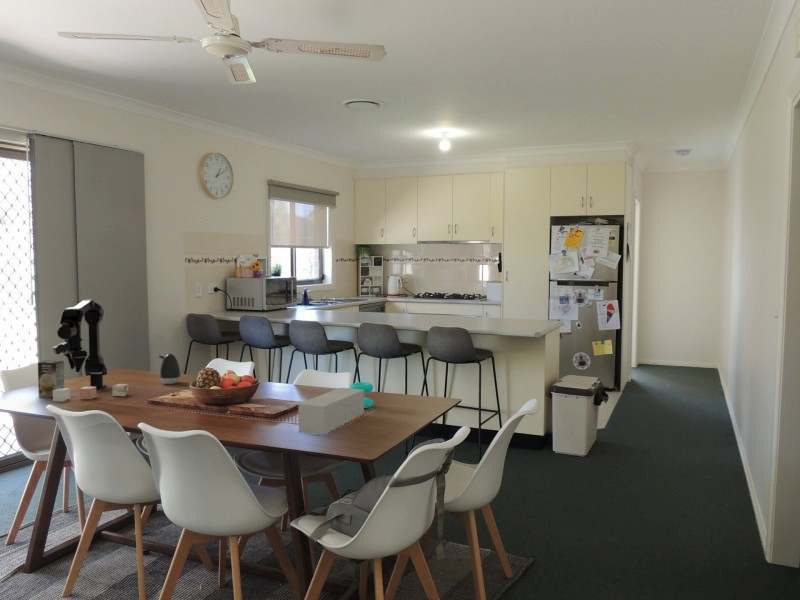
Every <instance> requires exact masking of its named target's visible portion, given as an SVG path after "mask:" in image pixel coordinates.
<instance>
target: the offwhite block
mask: <svg viewBox="0 0 800 600" xmlns="http://www.w3.org/2000/svg"><path fill="white" fill-rule="evenodd" d="M67 399H69V400H71V389H70V387H66V388H65V387H64V388H58V389H55V390H53V398H52V401H53V402H66V401H68V400H67ZM65 400H66V401H65Z"/></svg>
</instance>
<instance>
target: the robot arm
mask: <svg viewBox="0 0 800 600" xmlns="http://www.w3.org/2000/svg"><path fill="white" fill-rule="evenodd" d="M104 311H105V310H104V308H103V307H102V305H101V304H98V302H96V301H95V300H94V299H82V300H81V302H79V303H77V305H75V306H73V307H66V308H64V310H63V311H62V314H61V318H60V321H59V322H60V323H59V325H61V326H59V328H58V330H57V332H56V334H57V336H58V337H59V338H60V339H62V340H64V342H63V341H62V342H61V343H58V344H57V345H56V344H55V345H54V346H51V349H52V350H53V352H54V354H56V355H60V354H61V353H62V354H63V356H65V357H66V358H67V361H68V364H69V367H70V369H71V370H74V369H75V372H76V373H80V370H81V369H82V367H83V364H84V372H85V376H89V378H90V381H89V383H90V385H89V386H92V387H96V389H102V388H105V387H107V384H104V376H106V375H108V367H107V365H106V364H105V360H104V358H103V356H102V355H101V346H100V344H101V341H100V324H101V323H102V321H103V318H104V313H105V312H104ZM83 318H84V321H85V323H87V325H88V352H87V351H86V350H85V349H84V348H83V347H82V341H83V338H82V330H81V329H82V327H81V325H82V322H83ZM104 386H105V387H104Z"/></svg>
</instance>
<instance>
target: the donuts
mask: <svg viewBox="0 0 800 600" xmlns="http://www.w3.org/2000/svg"><path fill="white" fill-rule="evenodd" d="M349 388H351V389H361V390H364V394H369V393H371V392H372V391H373V389H374V385H373V384H372V383H370V382H363V381H362V382H361V381H360V382H354V383H351V384H350V385H349ZM372 405H374V401H373V400H372V399H371V398H369V397H364V408H365V407H370V406H372ZM372 407H373V406H372ZM370 408H371V407H370Z"/></svg>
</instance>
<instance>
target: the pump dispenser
mask: <svg viewBox="0 0 800 600" xmlns="http://www.w3.org/2000/svg"><path fill="white" fill-rule="evenodd" d="M158 358H160V359H161V360H162V362H161V365H160V368H159V378H160V382H162V383H163V384H164V385H174V383H175V384H177V383H179V381H180V378H181V377H182V372H181V368H180V364H179V361H178V359H177V357H176V356H175V355H174V354H173V353H167V354H166V355H159V356H158Z"/></svg>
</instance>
